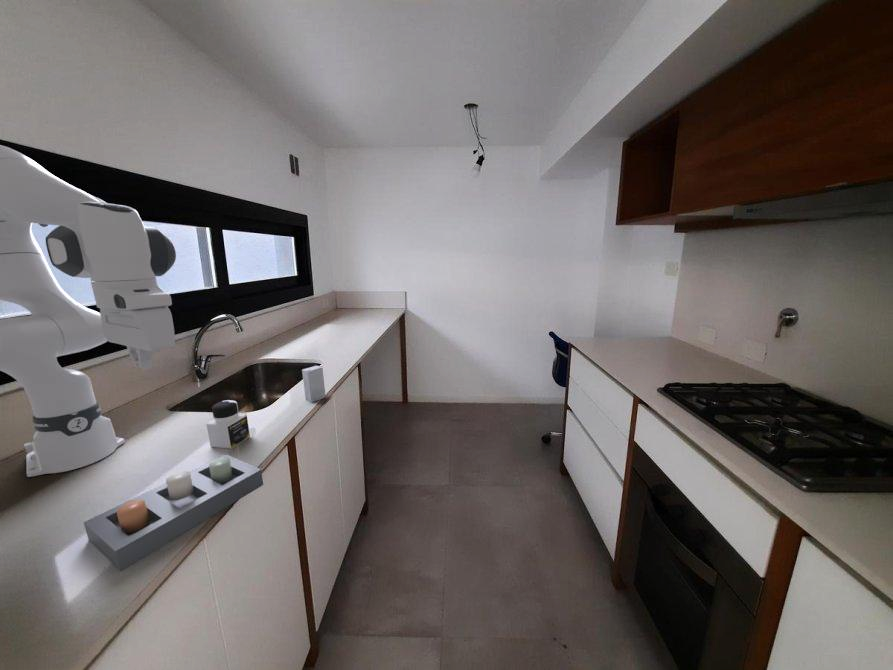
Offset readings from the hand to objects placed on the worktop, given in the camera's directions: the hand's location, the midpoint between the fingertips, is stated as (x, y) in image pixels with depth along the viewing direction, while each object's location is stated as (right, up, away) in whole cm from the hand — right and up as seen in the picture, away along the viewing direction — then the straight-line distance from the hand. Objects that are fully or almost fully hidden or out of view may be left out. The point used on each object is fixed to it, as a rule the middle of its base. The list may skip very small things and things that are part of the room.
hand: (144, 368), depth 67 cm
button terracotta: (-1, -30, -1) cm, 30 cm away
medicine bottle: (-4, -25, +34) cm, 42 cm away
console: (+3, -30, +7) cm, 31 cm away
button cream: (+3, -27, +6) cm, 27 cm away
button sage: (+7, -26, +13) cm, 30 cm away
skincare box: (+9, -18, +64) cm, 67 cm away
